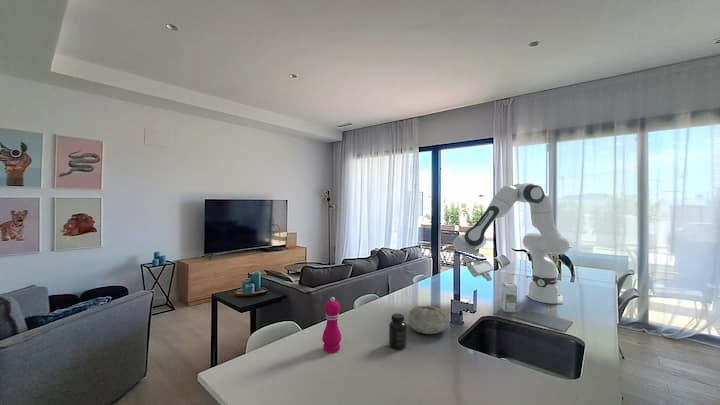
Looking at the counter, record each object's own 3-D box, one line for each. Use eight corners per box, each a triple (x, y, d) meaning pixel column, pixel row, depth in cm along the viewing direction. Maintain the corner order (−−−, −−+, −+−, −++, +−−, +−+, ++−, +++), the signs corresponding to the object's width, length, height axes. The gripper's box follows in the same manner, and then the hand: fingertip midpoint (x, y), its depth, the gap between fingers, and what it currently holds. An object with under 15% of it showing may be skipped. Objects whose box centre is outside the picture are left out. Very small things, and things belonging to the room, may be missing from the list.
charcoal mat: (523, 309, 157) (523, 308, 157) (572, 322, 141) (573, 321, 141) (512, 317, 146) (512, 316, 146) (564, 332, 130) (564, 331, 130)
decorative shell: (415, 318, 142) (416, 298, 142) (453, 327, 133) (453, 305, 133) (402, 333, 127) (402, 310, 127) (443, 343, 118) (444, 319, 118)
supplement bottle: (407, 343, 117) (408, 313, 117) (404, 351, 111) (405, 320, 111) (390, 340, 120) (391, 311, 119) (386, 348, 113) (387, 317, 113)
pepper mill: (326, 355, 107) (327, 301, 107) (319, 346, 113) (320, 295, 113) (344, 351, 110) (345, 298, 110) (336, 343, 117) (337, 293, 116)
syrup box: (512, 309, 158) (512, 282, 158) (516, 313, 152) (517, 285, 152) (501, 308, 158) (501, 281, 158) (505, 312, 152) (505, 284, 152)
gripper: (468, 258, 161) (486, 280, 154) (485, 254, 175) (501, 274, 168) (461, 265, 164) (477, 286, 157) (477, 260, 178) (493, 280, 171)
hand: (490, 280), depth 162 cm, fingers closed
